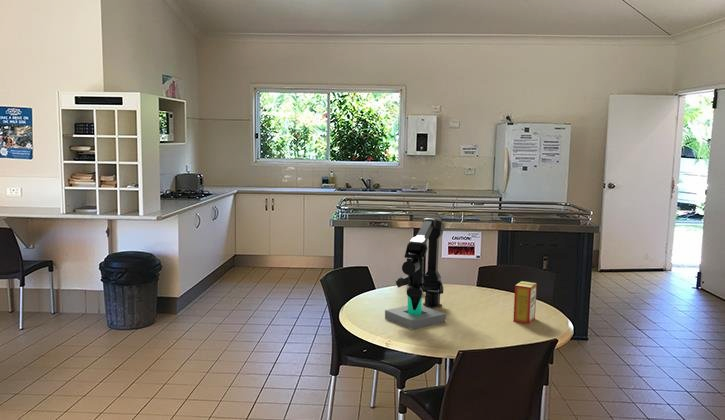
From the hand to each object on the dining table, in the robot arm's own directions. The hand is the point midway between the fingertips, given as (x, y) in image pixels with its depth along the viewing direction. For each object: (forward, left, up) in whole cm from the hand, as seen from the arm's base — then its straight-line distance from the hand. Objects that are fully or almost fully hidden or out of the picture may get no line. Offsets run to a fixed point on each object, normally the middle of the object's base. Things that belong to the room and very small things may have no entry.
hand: (415, 306), depth 247 cm
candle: (0, -1, -6) cm, 6 cm away
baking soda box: (-40, +25, -6) cm, 48 cm away
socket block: (0, 0, -6) cm, 6 cm away
